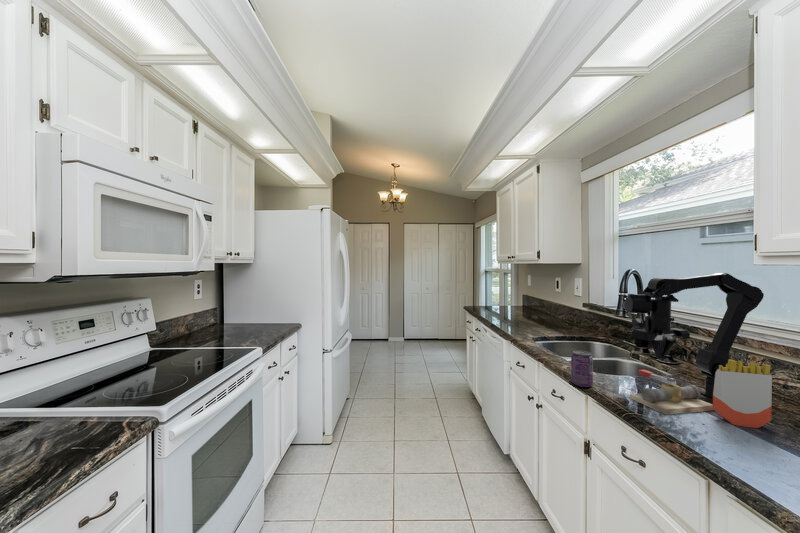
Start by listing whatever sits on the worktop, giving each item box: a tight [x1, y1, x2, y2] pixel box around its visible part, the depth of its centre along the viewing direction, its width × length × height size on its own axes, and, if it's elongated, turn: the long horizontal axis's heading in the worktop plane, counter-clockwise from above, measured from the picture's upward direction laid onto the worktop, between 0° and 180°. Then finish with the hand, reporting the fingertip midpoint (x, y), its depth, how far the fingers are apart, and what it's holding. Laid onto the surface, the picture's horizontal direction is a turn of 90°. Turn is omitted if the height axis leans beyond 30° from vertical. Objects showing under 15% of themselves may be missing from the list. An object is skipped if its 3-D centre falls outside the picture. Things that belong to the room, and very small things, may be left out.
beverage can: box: [570, 350, 594, 388], centre depth 122 cm, size 7×7×12 cm
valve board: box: [630, 382, 715, 415], centre depth 106 cm, size 18×12×6 cm, turn 101°
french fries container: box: [712, 359, 773, 429], centre depth 93 cm, size 5×11×18 cm, turn 73°
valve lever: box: [638, 368, 677, 386], centre depth 110 cm, size 12×2×2 cm, turn 11°
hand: (659, 358), depth 115 cm, fingers closed
